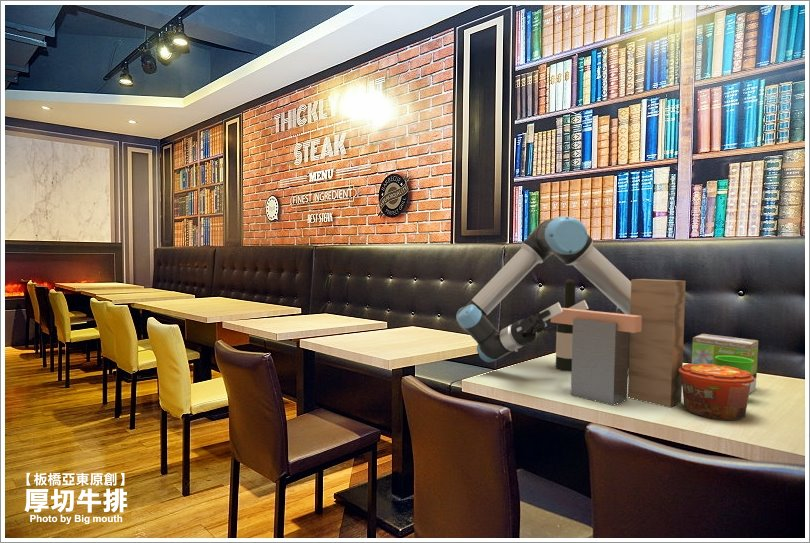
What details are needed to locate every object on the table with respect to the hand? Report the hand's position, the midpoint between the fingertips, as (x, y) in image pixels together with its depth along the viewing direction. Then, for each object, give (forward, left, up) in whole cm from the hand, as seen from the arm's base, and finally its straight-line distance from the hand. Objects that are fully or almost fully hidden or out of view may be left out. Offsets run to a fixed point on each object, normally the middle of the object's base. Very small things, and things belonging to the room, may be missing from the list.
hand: (573, 305), depth 143 cm
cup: (-28, +32, -24) cm, 49 cm away
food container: (-11, +33, -24) cm, 42 cm away
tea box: (-40, +26, -24) cm, 54 cm away
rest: (0, +8, -24) cm, 26 cm away
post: (-10, +19, -24) cm, 32 cm away
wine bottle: (-25, -16, -24) cm, 39 cm away
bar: (0, +6, -5) cm, 8 cm away
